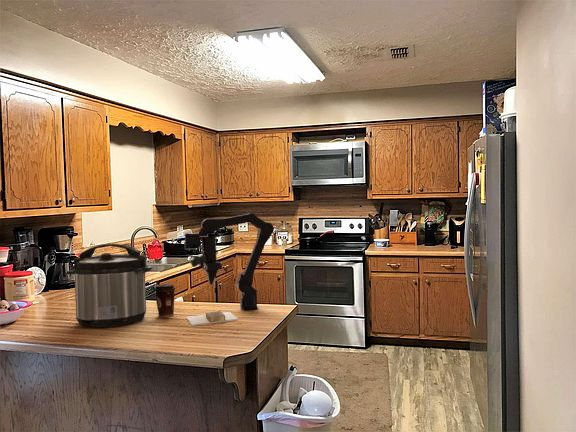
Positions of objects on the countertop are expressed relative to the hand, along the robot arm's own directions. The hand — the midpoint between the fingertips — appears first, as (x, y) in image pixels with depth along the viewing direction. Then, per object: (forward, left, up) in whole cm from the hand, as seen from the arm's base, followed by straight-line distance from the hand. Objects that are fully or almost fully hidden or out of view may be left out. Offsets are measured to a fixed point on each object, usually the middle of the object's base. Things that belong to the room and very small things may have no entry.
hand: (211, 284), depth 204 cm
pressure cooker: (+40, -6, -12) cm, 42 cm away
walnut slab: (+2, +12, -10) cm, 16 cm away
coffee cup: (+19, -4, -12) cm, 23 cm away
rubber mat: (+3, +13, -12) cm, 18 cm away
